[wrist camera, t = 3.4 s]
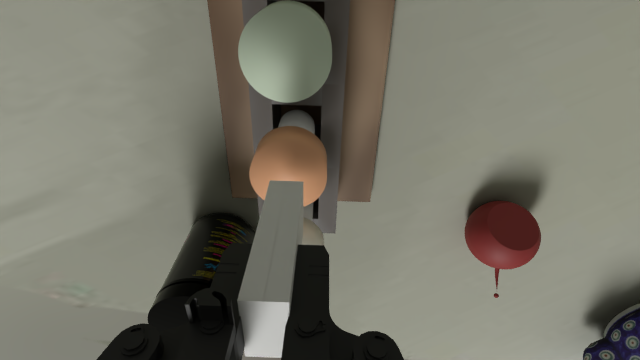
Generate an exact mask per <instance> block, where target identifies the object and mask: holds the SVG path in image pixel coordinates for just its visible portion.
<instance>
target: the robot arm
mask: <svg viewBox="0 0 640 360" xmlns="http://www.w3.org/2000/svg"><path fill="white" fill-rule="evenodd" d="M302 238H303V182H302V181H273V180H270V182H269V185H268V189H267V193H266V196H265V200H264V204H263V208H262V211H261V215H260V219H259V222H258V226H257V230H256V233H255V237H254V241H253V244H248V243H231V244H230V245H229V246H228V247H227V248H226V250H225V251H224V252H223V253H222V256H221V259H220V262H219V265H218V267H217V270H216V274H215V275H214V278H213V281H212V284H211V286H210V288H205V289H203V290H200V291H198V292H196V293H195V294H193V295H192V296H191V297H190V298H189V299H188V301H187V302H186V304H185V307H186V311H187V315H188V319H189V322H188V323H186V324H184V325H181V326H178V327H175V328H171V329H167V330H163V331H158V330H157V328H156V327H154V326H152V325H151V324H138V325H134V326H131V327H129V328H127V329H125V330H124V331H122V332H121V333H120V334H119V335H118V336H117V337H116V338H115V339H114V340H113V341H112V342H111V343H110V344H109V346H108V347H107V348H106V349H105V350H104V352H103V353H102V354H101V355H100V356H99V357H98V359H97V360H242V355H243V351H244V352H245V356H249V357H276V358H281V360H404V359H403V357H402V354H401V352H400V350H399V348H398V346H397V345H396V343H395V342H394V340H393V339H391V338H390V337H389V336H388V335H386V334H384V333H381V332H378V331H368V332H366V333H363V334H361V335H360V336H356V335H353V334H351V333H348V332H346V331H344V330H341V329H340V328H339V327H338V326H336V325H335V323H334V322H333V321H332V319H331V317H330V313H329V254H328V252H327V250H326V249H325V247H324V245H302Z"/></svg>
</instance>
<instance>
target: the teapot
mask: <svg viewBox="0 0 640 360" xmlns="http://www.w3.org/2000/svg"><path fill="white" fill-rule="evenodd" d="M583 360H640V303H639V304H636V305H634V306H632V307H630V308H628V309H626V310H624V311H622V312H621V313H619V314H618V315H617V316H615V317H614V318H613V319H612V320H611V321H610V322H609V324H608V325H607V327H606V329H605V331H604V338H603V339H600V340H598V341H596V342H594V343H591V344H590V345H589V346H588V347H587V348H586V349H585V350H584V354H583Z"/></svg>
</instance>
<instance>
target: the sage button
mask: <svg viewBox="0 0 640 360" xmlns="http://www.w3.org/2000/svg"><path fill="white" fill-rule="evenodd" d="M238 57H239V63H240V66H241V69H242V72H243V74H244V76H245V78H246V79H247V81H248V82H249V83H250V85H251V86H252V87H253V88H254V89H255V90H256V91H257V92H259V93H260V94H262V95H263V96H265V97H267V98H269V99H271V100H274V101H278V102H285V103H290V102H298V101H301V100H304V99H306V98H309V97H310V96H312V95H313V94H315V93H316V92H317V91H318V90H319V89H320V88H321V87H322V86H323V84H324V83H325V81H326V79H327V78H328V75H329V73H330V69H331V65H332V43H331V37H330V33H329V30H328V28H327V25H326V24H325V22H324V20H323V19H322V18H321V16H320V15H319V14H318V13H317V12H316V11H315V10H313V9H312V8H311V7H309V6H307V5H305V4H303V3H300V2H297V1H290V0H285V1H278V2H275V3H272V4H270V5H268V6H266V7H265V8H263V9H262V10H261V11H259V12H258V13H257V14H256V15H254V16H253V17H252V18H251V19H250V20H249V22H248V23H247V24H246V26H245V27H244V29H243V31H242V34H241V36H240V40H239V46H238Z"/></svg>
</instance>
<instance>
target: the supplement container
mask: <svg viewBox="0 0 640 360" xmlns="http://www.w3.org/2000/svg"><path fill="white" fill-rule="evenodd" d="M254 237H255V233H254V231H253V229H252V228H251V226H250V225H249V224H248V223H247V222H245V221H244V220H243V219H241V218H239V217H237V216H234V215H231V214H227V213H213V214H209V215H206V216H204V217H202V218H201V219H199V220H198V221H197V222H196V223H195V224H194V225H193V227H192V229H191V231H190V233H189V234H188V236H187V238H186V240H185V242H184V244H183V246H182V248H181V250H180V252H179V254H178V256H177V258H176V260H175V262H174V264H173V266H172V268H171V270H170V272H169V274H168V276H167V278H166V280H165V282H164V284H163V286H162V288H161V290H160V291H159V292H158V294H157V296H156V299H155V301H154V303H153V305H152V307H151V309H150V311H149V314H148V323H149V324H151V325H152V326H154V327H156V328H157V330H158V331H163V330H167V329H171V328H175V327H178V326H181V325H184V324H186V323H188V322H189V319H188V315H187V311H186V307H185V304H186V302H187V301H188V299H189V298H190V297H191V296H192V295H193V294H195V293H196V292H198V291H200V290H203V289H205V288H210V286H211V284H212V281H213V278H214V275H215V274H216V270H217V267H218V265H219V262H220V259H221V256H222V253H223V252H224V251H225V250H226V248H227V247H228V246H229V245H230V244H231V243H248V244H253V241H254Z"/></svg>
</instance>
